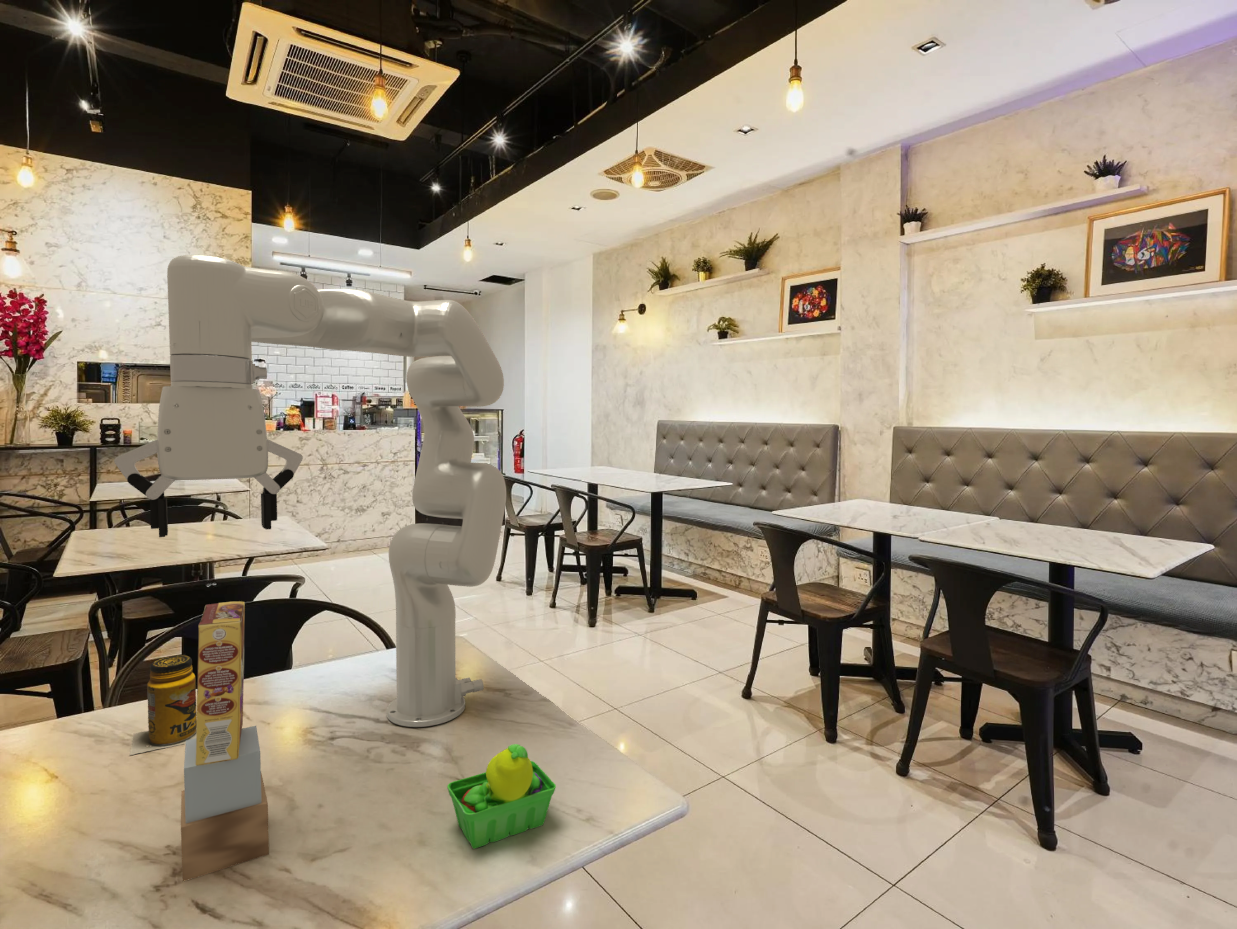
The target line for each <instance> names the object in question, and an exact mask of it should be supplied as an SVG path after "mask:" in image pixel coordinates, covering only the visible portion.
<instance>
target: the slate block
mask: <svg viewBox="0 0 1237 929" xmlns="http://www.w3.org/2000/svg"><path fill="white" fill-rule="evenodd" d="M259 740H260V739H259V736H258V729H257V725H253V726H252V725H251V726H248V727H242V731H241V738H240V746H239V757H238V759H235V760H229V761H224V762H218V763H212V764H206V765H199V766H196V738H195V739H191V740H186V744H185V749H184V761H183V762H184V763H183V780H184V781H183V784H184V790H185V818H186V823H190V822H194V821H197V820H201V819H205V818H208V817H212V816H216V815H220V814H223V813H227V812H231V811H234V810H238V809H242V808H246V807H249V806H253V805H257V804H260V803H261V773H262V769H261V768H262V766H261V764H262V763H261V749H260V748H261V747H260V741H259Z"/></svg>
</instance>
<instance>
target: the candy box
mask: <svg viewBox="0 0 1237 929" xmlns="http://www.w3.org/2000/svg"><path fill="white" fill-rule="evenodd" d="M245 604H246V603H245V601H226V602H218V603H211V604H210V603H209V604H205V606H204V610H203V612H202V616H201V619H200V621H199V623H198V634H197V636H198V637H197V638H198V642H197V645H198V646H197V682H196V684H197V685H196V688H197V689H196V712H197V713H196V714H197V716H196V717H197V729H196V766H199V765H206V764H212V763H218V762H224V761H229V760H235V759H238V757H239V746H240V738H241V731H242V728H243V722H244V720H243V719H244V682H245V681H244V678H245V676H244V674H245V614H246V613H245V611H246V610H245V609H246V608H245V607H246V606H245Z"/></svg>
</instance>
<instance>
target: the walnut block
mask: <svg viewBox="0 0 1237 929" xmlns="http://www.w3.org/2000/svg"><path fill="white" fill-rule="evenodd" d="M180 796H181V798H180V799H181V800H180V839H181V840H180V844H181V875H182V880H181V881H182V882H183V881H184V880H187V881H189V880H188V879H190V880H192V879H191V878H193V879H195V878H199V877H202V876H206V875H208V874H211V873H215V872H217V871H220V870H223V869H226V868H230V867H233V866H235V865H239V864H242V863H246V862H249V861H252V860H255V859H259V858H262V857H265V856H268V855H269V854H270V847H269V846H270V843H269V840H270V839H269V838H270V837H269V836H270V835H269V802H268V798H267V793H266V788H265V783H264V778H263V774H262V772H261V803H260V804H257V805H253V806H249V807H246V808H242V809H238V810H234V811H231V812H227V813H223V814H220V815H216V816H212V817H208V818H205V819H201V820H197V821H194V822H190V823H186V818H185V789H183V790H181V794H180ZM198 876H199V877H198ZM184 882H185V881H184Z"/></svg>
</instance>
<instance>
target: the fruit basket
mask: <svg viewBox="0 0 1237 929" xmlns="http://www.w3.org/2000/svg"><path fill="white" fill-rule="evenodd" d="M528 756H529V755H528V751H527V749H526V748H525V747H524V746H522V745H521V744H517V743H512V744H510V745H509V746H508V747H507V748H504V749H503V750H502V751H500V752H498V753H497V754H496V755H495V756H493V757H492V758H491V759H490V760H489V762H488V764H487V767H486V771H485V772H482V773H478V774H475V775H473V776H468V777H465V778H461V779H457V780H454V781H451V782H449V783H448V784H447V786H446V787H447V790H448V795H449V796H450V798H451V802H452V804H453V809H454V812H455V815H456V816H455V817H456V820H457V824H458V827H459V828H460V829H461V830H462V833H463V835H464V837H465V838H466V840H467V841H468V842H469V843H470V846H471V848H472V849H473V850H474V849H478V848H480V847H484V846H486V845H488V844H489V843H495V842H497V841H500V840H503V839H506V838H508V837H509V836H515V835H518V834H521V833H524V832H526V831H527V830H528V829H529V830H531V829H535V828H538V827H541V826H543V825H544V824H545V821H546V817H547V814H548V810H549V807H550V803H551V799H552V796H553V795H554V794H555V791H556V788H557V786H556V783H555V782H554V781H552V779H551V778H550V777H549V775H547V774H546V772H544V770H543V769H542V767H540V766H539V765H538V764H537V763H536V762H534V761H533V760H531V759H530V758H529V757H528Z"/></svg>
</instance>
